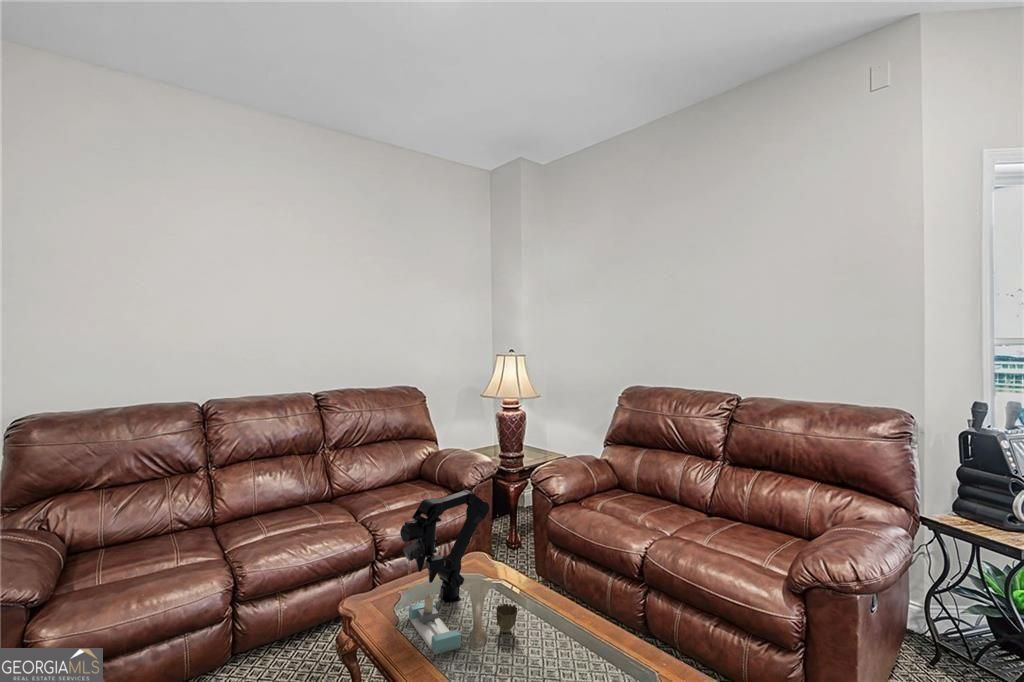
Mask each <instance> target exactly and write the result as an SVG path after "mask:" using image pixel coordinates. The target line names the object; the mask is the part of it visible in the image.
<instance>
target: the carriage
mask: <svg viewBox="0 0 1024 682" xmlns="http://www.w3.org/2000/svg"><path fill="white" fill-rule="evenodd" d="M433 601H434V595H432V594H427V595H425V596H424V602H423V603H424V609H421V610H418V612H417V616H418V618H419V619H420V620H421V621H422V622H424V624H427V621H429V620H431V621H432V622H435V619H438V617H439V611H438V610H437V608H436V609H435V608H434V607H433Z"/></svg>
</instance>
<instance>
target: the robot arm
mask: <svg viewBox="0 0 1024 682" xmlns="http://www.w3.org/2000/svg"><path fill="white" fill-rule="evenodd" d="M420 501H421V502H420V504H419V505H418V507H417V509H416V510H415V513H413V516H412V519H413V520H409V521H404V524H403V526H402V527H401V528H400V530H399V532H400V538H401V540H402V542H404V543H409V542H410V543H409V544H408V545H407V546H405V547H404V548H403V553H404V556H405V558H406V559H408V561H409V562H413V560H415V563H416V568H417V571H418V573H421V572H422V571H423V568H424V564H425V568H426V569H427V570H428V582H429V584H431V583H433V581H434V580H435V578H436V577H437V576H438V578H439V580H440V581H441V585H440V589H439V590H440V591H439V592H440V593H439V594H438V596H439V597H440V598H441V599H442V600H443V602H444V603H446V604H450V603H452V602H453V603H454V602H458V601H461V599H462V598H461V597H460V592H461V591H460V587H461V586H462V585H463V584H464V581H465V578H464V577H463V576H462V575H461V574H460V573H461V570H462V559H463V557H464V554H465V552H466V551H467V548H468V546H469V543H470V541H471V539H472V537H473V536H474V533H475V531H476V529H477V527H478V524H480V523H481V522H482V521H484V520H485V519H486V517H487V516H488V514H489V511H490V505H489V503H488V502H487V501H485V500H483V499H481V498H480V497H478V496H477V495H476V494H475V493H474V492H472V491H470V490H468V489H463V490H462V491H459V492H456V493H453V494H449V495H447V496H444V497H441V498H431V497H430V498H424V499H423V500H420ZM463 505H465V506H466V510H465V513H466V514H465V515H466V516H465V517H466V519H465V520H464V523H463V525H462V527H461V529H460V532H459V533H458V536H457V538H456V540H455V542H454V543H453V545H452V547H451V550H450V552H449V553H448V555H446V556H444V555H442V556H441V555H440V554H436V553H437V552H438V549H437V548H436V542H438V538H437V537H436V535H437V523H439V522H442V518H440V516H442V515H443V514H444V513H445V512H446V511H448V510H450V509H453V508H456V507H457V508H458V506H459V507H460V506H463ZM435 554H436V555H435Z"/></svg>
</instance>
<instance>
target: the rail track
mask: <svg viewBox="0 0 1024 682" xmlns="http://www.w3.org/2000/svg"><path fill="white" fill-rule="evenodd" d="M433 607H434V608H435V609H436V610H437V603H435V601H434V600H433ZM421 609H424V602H419V603H416V604H411V605H409V607H408V616H407V617H408V618H407V619H408V620H409V621H410V623H411V624H412V626H413V627H414V628H415V629H416V631H417V633H419V635H420V637H421V638H422V639H423V640H424V642H425V644H426V645H427V646H428V648H429V649H430V651H431V652H432V653H433V655H434V656H435V655H438V654H443V653H446V652H449V651H453V650H457V649H460V648H461V643H462V641H461V640H462V634H461V633H462V632H460V630H459V629H453V630H449V628H448V627H447V626H446V624H445V623H444V622H443V621H442V619H440V616H438V619H435V622H432V621H431V620H429V621H427V624H424V622H422V621H421V620H420V619H419V618H418V616H417V612H418V610H421Z"/></svg>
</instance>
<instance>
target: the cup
mask: <svg viewBox="0 0 1024 682" xmlns="http://www.w3.org/2000/svg"><path fill="white" fill-rule="evenodd" d="M495 610H496V622H497V625H498V627H499V629H500V632H501V633H503V634H509V633H510V632H511V630H512V628H514V626H515V625H516V621H517V616H518V607H516V605H515V604H511V603H510V604H508V603H503V604H500V605H498V604H497V605H496V609H495Z"/></svg>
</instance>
